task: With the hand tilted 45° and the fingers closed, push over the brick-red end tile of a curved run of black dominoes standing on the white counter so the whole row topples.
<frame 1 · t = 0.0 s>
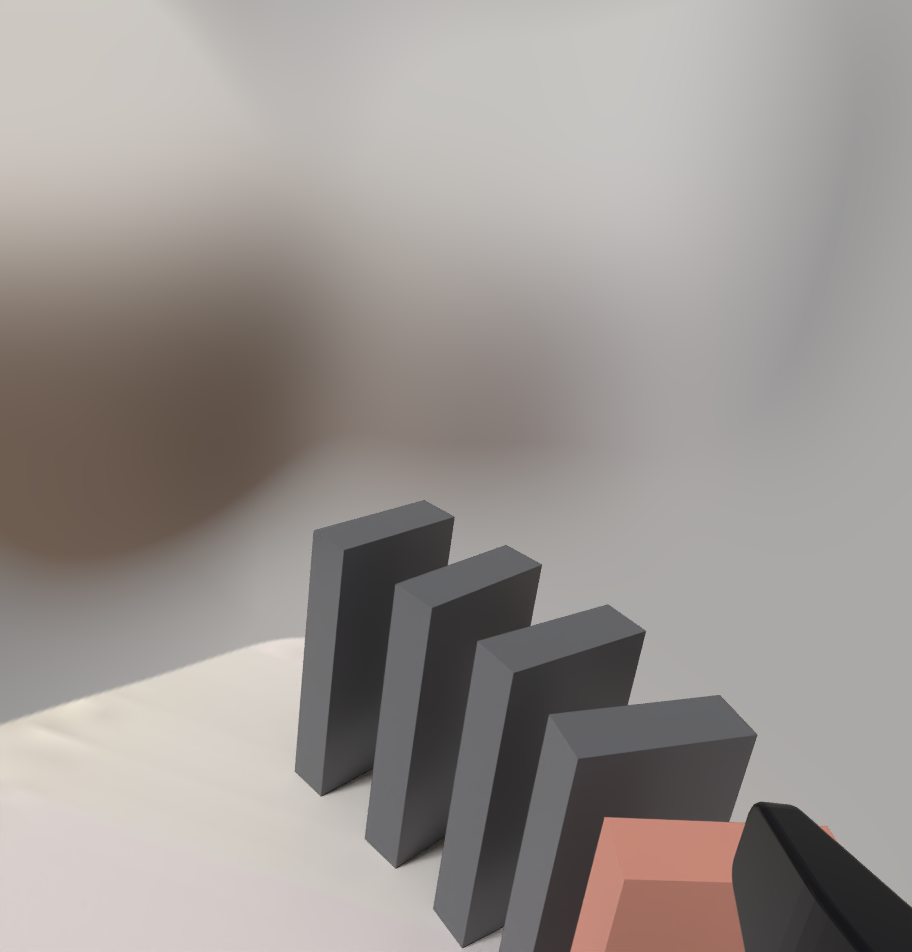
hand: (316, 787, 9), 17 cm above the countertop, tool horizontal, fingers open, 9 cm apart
domino 3: (510, 896, 28), on the countertop
domino 4: (433, 819, 31), on the countertop
domino 5: (360, 756, 34), on the countertop
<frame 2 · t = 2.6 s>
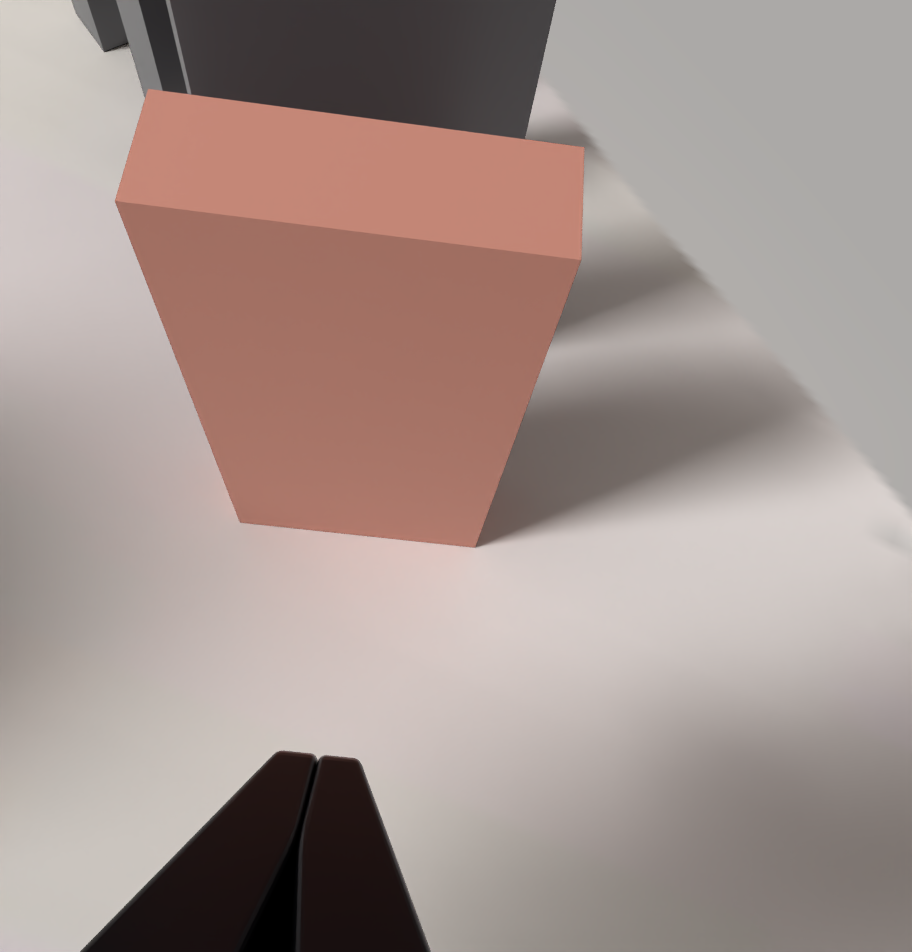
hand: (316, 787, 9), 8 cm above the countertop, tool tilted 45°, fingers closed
domino 3: (323, 206, 22), on the countertop
domino 4: (251, 98, 23), on the countertop
domino 1: (362, 500, 19), on the countertop
domino 2: (364, 341, 20), on the countertop
domino 5: (174, 0, 24), on the countertop
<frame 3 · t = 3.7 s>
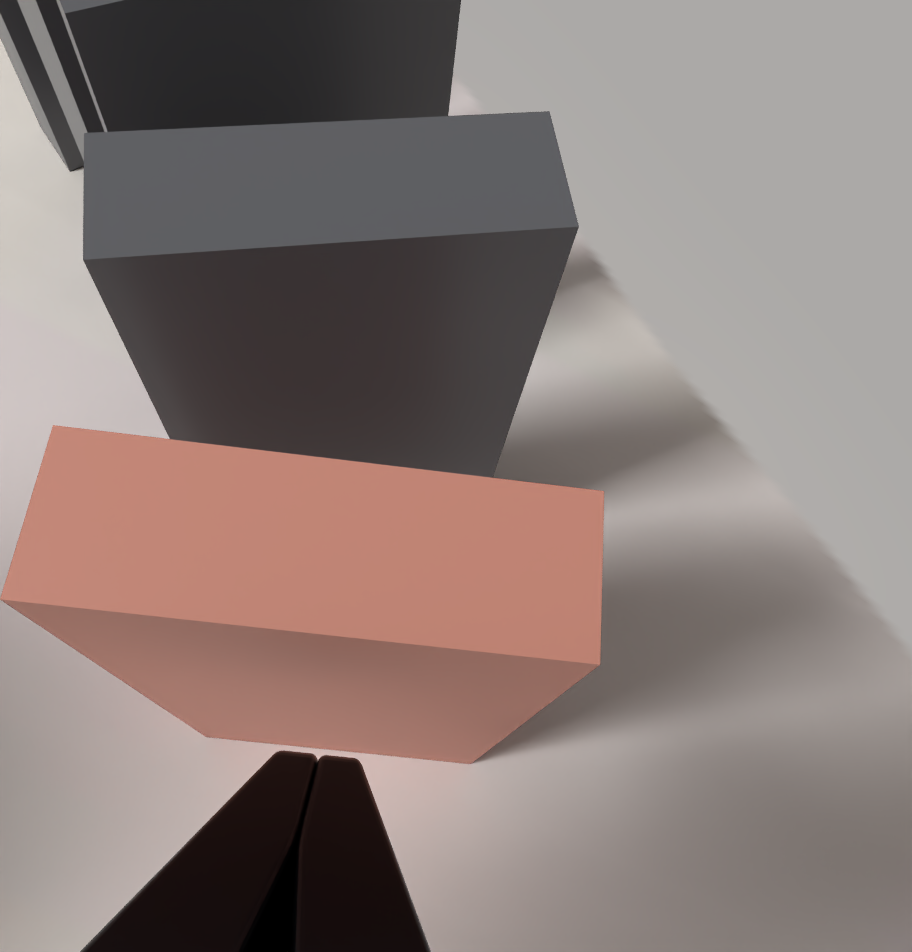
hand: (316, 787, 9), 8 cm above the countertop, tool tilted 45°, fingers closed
domino 3: (307, 351, 20), on the countertop
domino 4: (230, 224, 21), on the countertop
domino 1: (345, 707, 17), on the countertop
domino 2: (349, 513, 18), on the countertop
domino 5: (149, 110, 22), on the countertop
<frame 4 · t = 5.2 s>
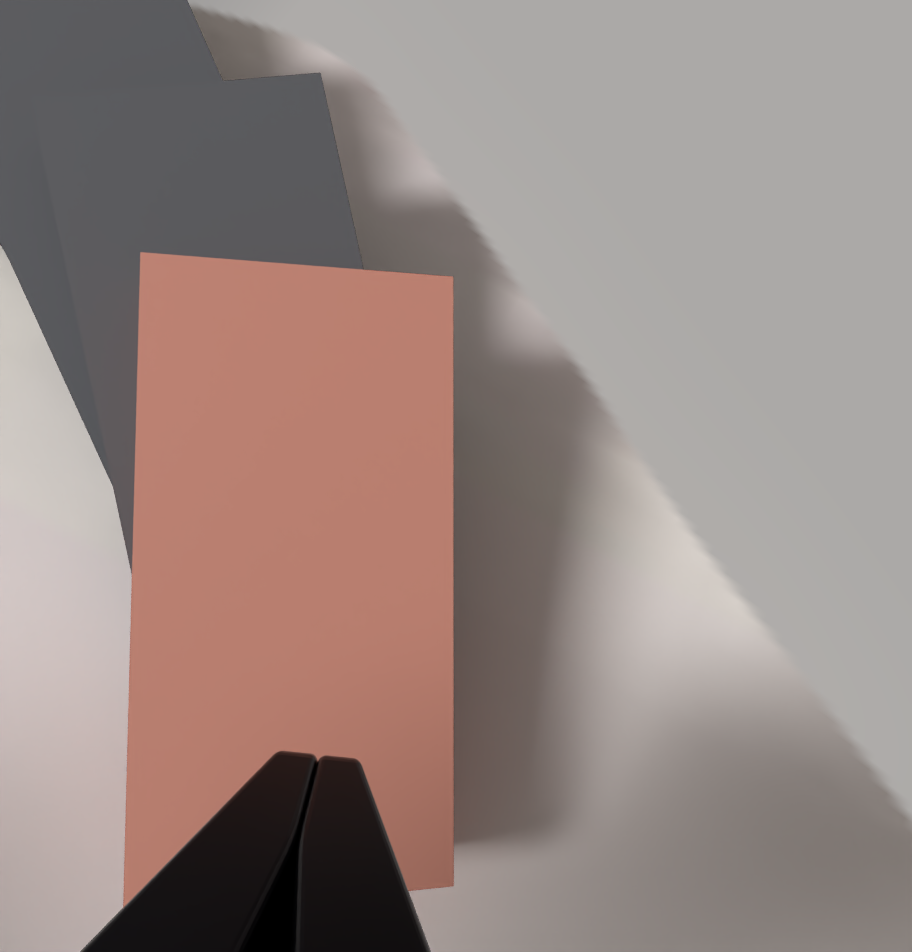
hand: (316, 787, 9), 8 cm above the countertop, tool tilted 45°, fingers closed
domino 3: (243, 446, 18), point 1 cm above the countertop, tilted 69°, touching domino 2, domino 4
domino 1: (292, 882, 14), point 1 cm above the countertop, tilted 72°
domino 2: (297, 633, 16), point 1 cm above the countertop, tilted 70°, touching domino 3
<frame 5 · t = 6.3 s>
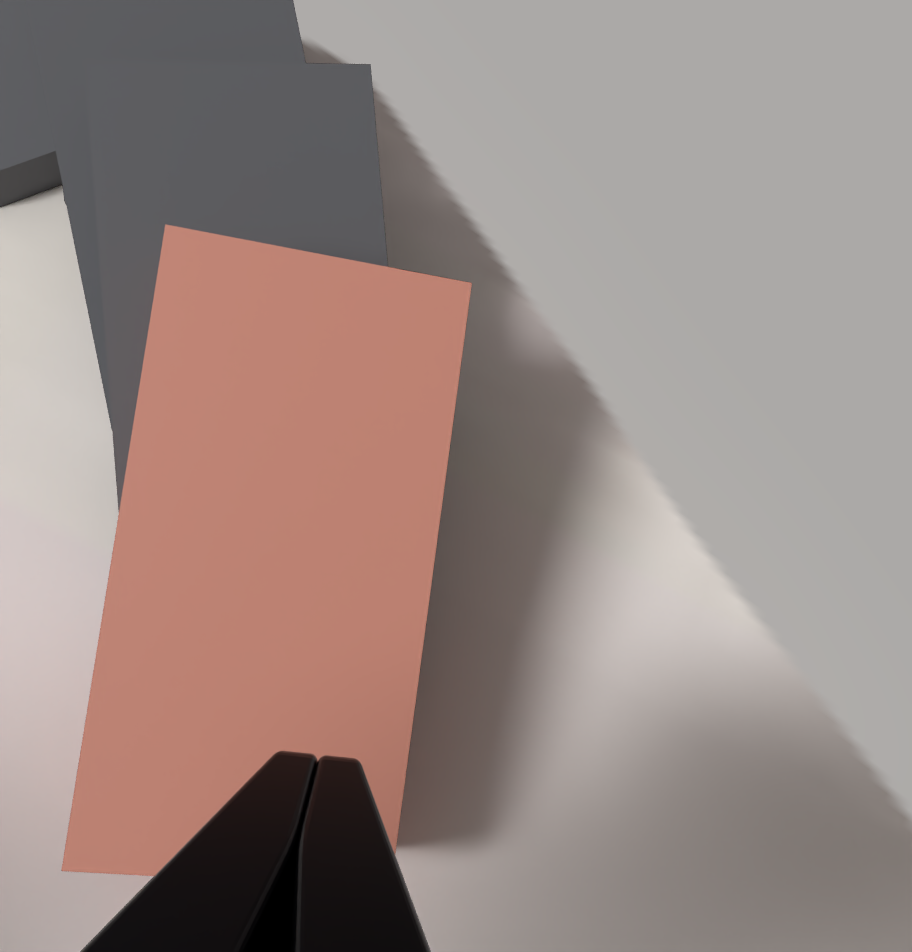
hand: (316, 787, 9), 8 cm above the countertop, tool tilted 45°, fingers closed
domino 3: (246, 410, 18), point 1 cm above the countertop, tilted 69°, touching domino 2, domino 4
domino 1: (234, 860, 14), point 1 cm above the countertop, tilted 71°, touching domino 2
domino 2: (277, 613, 16), point 1 cm above the countertop, tilted 70°, touching domino 1, domino 3
domino 5: (93, 165, 21), on the countertop, tilted 90°, touching domino 4
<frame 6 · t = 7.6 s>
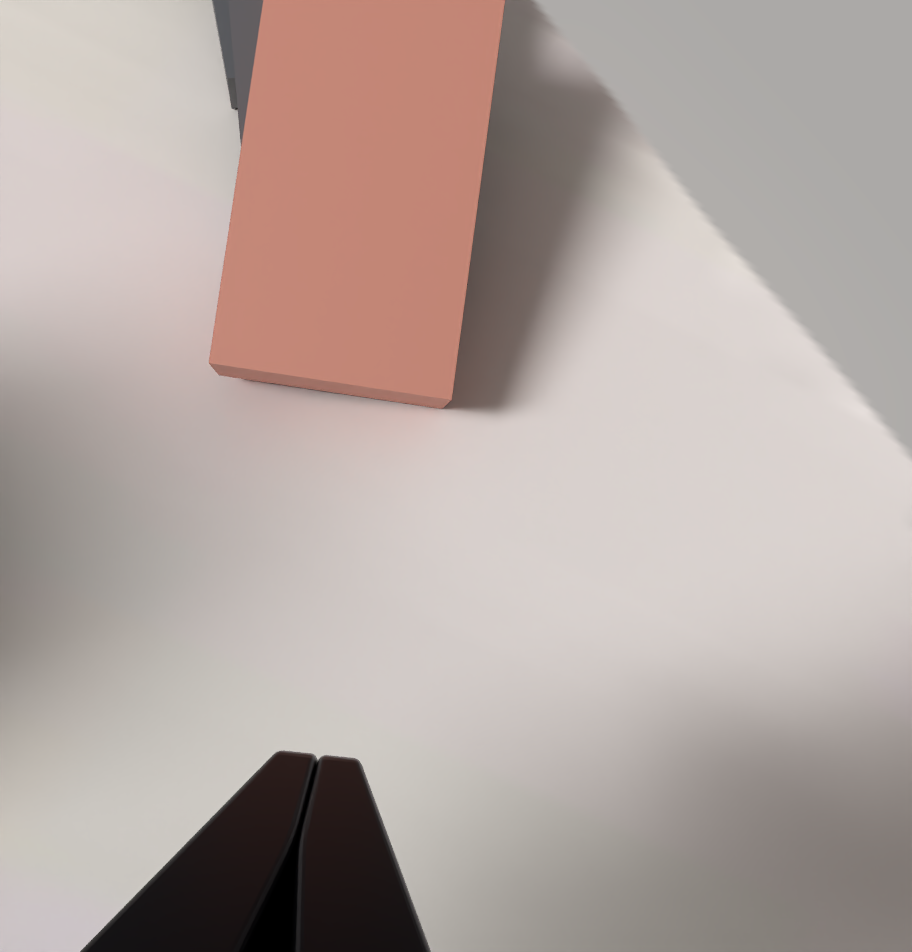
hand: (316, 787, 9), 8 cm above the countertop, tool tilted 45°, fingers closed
domino 3: (328, 84, 22), point 1 cm above the countertop, tilted 70°, touching domino 2, domino 4
domino 1: (332, 387, 19), point 1 cm above the countertop, tilted 71°, touching domino 2
domino 2: (359, 230, 21), point 1 cm above the countertop, tilted 70°, touching domino 1, domino 3
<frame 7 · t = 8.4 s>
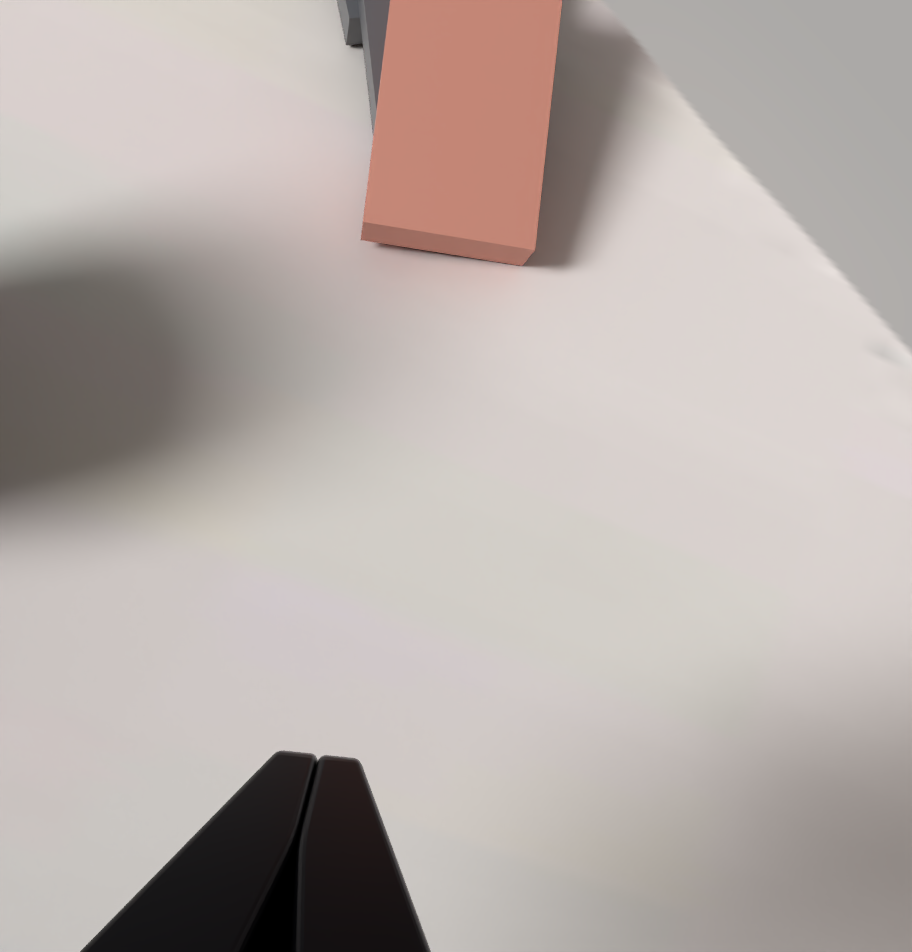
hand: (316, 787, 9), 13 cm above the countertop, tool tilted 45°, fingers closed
domino 3: (420, 24, 29), point 1 cm above the countertop, tilted 70°, touching domino 2, domino 4
domino 1: (446, 244, 26), point 1 cm above the countertop, tilted 71°, touching domino 2
domino 2: (455, 135, 28), point 1 cm above the countertop, tilted 70°, touching domino 1, domino 3
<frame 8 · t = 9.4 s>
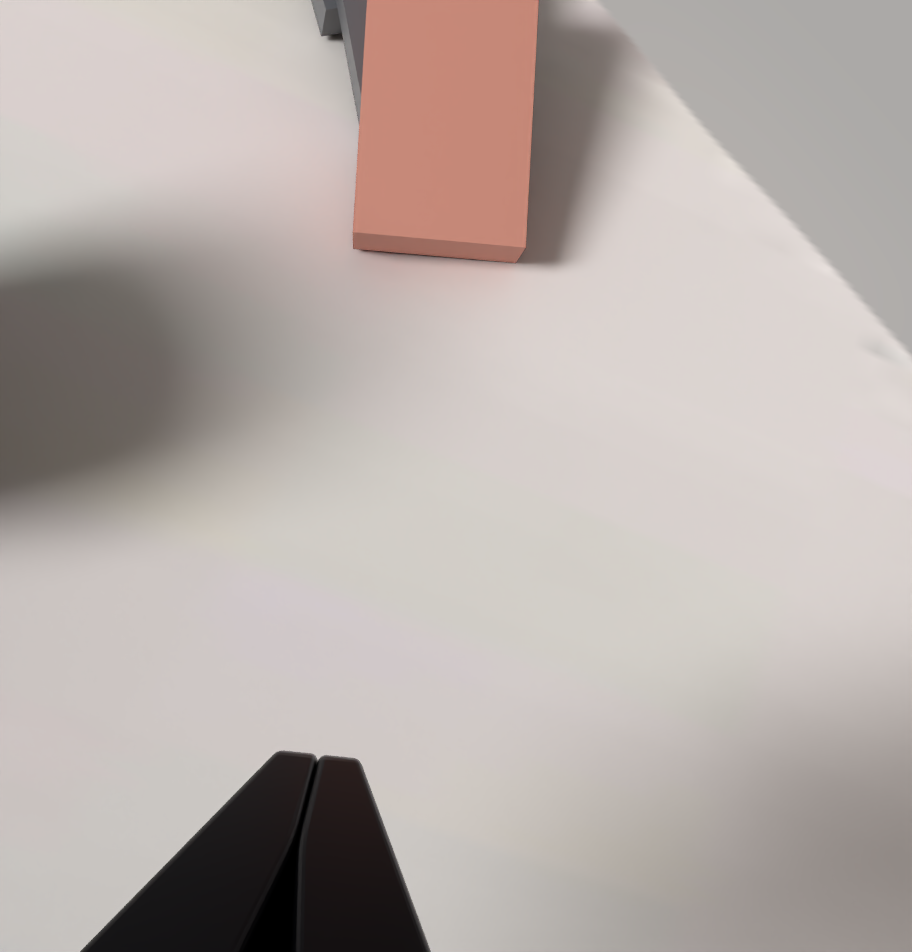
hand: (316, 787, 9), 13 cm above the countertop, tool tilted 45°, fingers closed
domino 3: (395, 12, 29), point 1 cm above the countertop, tilted 69°, touching domino 2, domino 4
domino 1: (437, 248, 26), point 1 cm above the countertop, tilted 70°, touching domino 2
domino 2: (442, 129, 28), point 1 cm above the countertop, tilted 69°, touching domino 1, domino 3
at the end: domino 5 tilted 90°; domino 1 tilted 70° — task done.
